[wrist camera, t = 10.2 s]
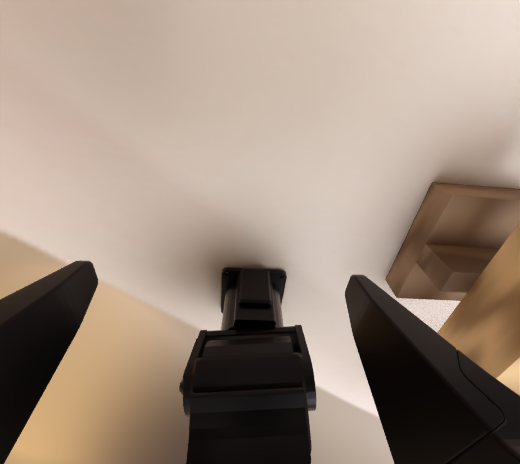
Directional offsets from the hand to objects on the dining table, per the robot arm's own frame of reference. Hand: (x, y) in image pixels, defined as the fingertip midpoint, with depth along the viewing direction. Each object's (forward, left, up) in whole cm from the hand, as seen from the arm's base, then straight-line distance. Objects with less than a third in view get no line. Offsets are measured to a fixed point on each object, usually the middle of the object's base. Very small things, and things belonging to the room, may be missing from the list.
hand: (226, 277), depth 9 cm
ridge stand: (-6, -20, -13) cm, 25 cm away
